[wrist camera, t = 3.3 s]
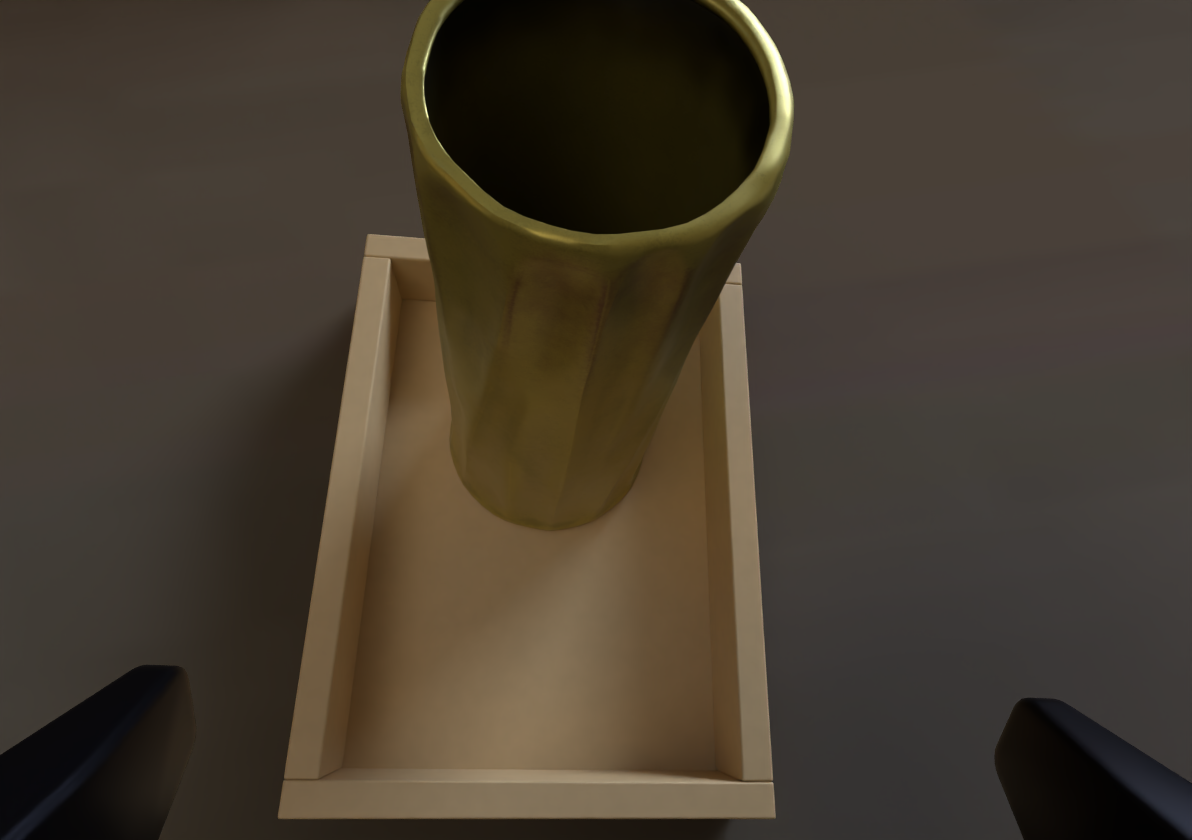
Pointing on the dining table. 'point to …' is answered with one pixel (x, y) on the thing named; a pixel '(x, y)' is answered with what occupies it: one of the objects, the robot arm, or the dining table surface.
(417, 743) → the tray
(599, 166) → the vase
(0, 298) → the dining table surface
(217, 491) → the dining table surface
